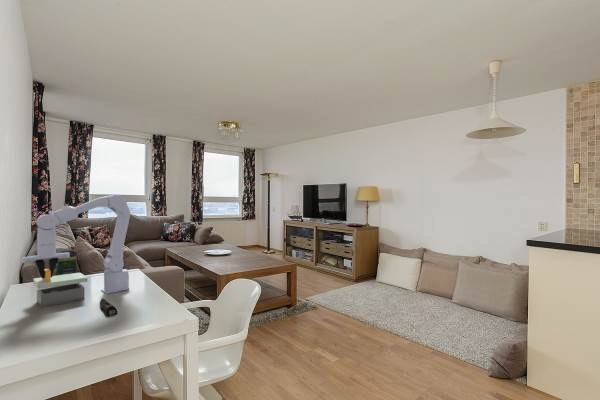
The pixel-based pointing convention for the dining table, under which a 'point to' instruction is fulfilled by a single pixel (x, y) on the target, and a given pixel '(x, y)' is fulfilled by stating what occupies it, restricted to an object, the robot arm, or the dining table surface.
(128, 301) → the dining table surface
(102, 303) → the electric trimmer
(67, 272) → the coffee jar
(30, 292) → the dining table surface
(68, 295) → the tub
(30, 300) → the dining table surface
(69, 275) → the lid
